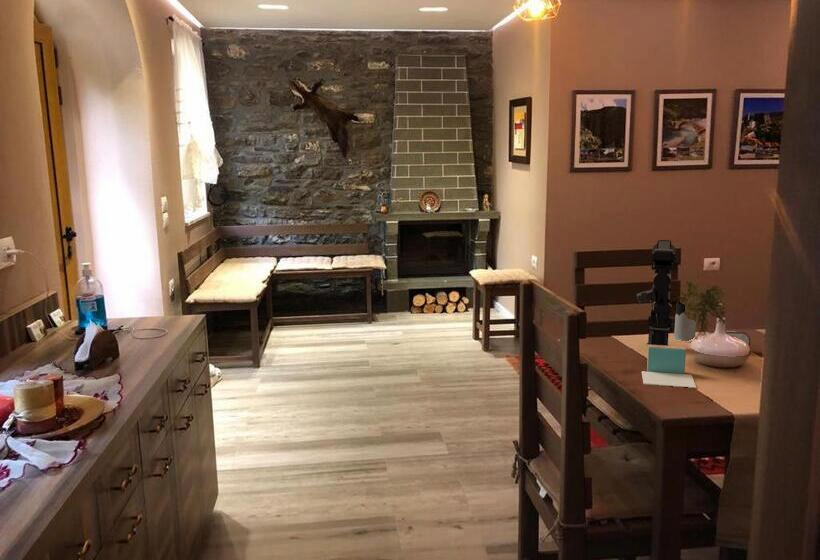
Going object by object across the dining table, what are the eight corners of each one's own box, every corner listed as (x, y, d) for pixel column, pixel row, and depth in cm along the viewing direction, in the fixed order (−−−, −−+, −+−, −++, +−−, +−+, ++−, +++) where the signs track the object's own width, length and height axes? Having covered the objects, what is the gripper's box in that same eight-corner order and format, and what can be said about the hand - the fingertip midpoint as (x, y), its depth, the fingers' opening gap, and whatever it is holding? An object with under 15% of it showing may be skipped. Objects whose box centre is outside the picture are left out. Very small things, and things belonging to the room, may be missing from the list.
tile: (646, 369, 233) (648, 344, 232) (683, 371, 230) (685, 346, 228) (647, 372, 230) (648, 347, 228) (684, 375, 227) (686, 349, 225)
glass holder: (677, 341, 267) (679, 305, 264) (665, 332, 281) (667, 298, 278) (699, 342, 266) (702, 305, 264) (686, 332, 280) (688, 298, 278)
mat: (641, 372, 230) (641, 371, 230) (691, 375, 225) (691, 374, 225) (643, 384, 217) (643, 383, 217) (696, 388, 213) (696, 387, 213)
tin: (747, 350, 254) (749, 329, 252) (750, 353, 251) (752, 331, 249) (706, 350, 255) (708, 328, 254) (709, 352, 252) (710, 330, 251)
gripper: (637, 278, 253) (635, 318, 255) (639, 288, 235) (637, 330, 238) (668, 280, 250) (666, 320, 252) (673, 289, 232) (670, 332, 235)
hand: (659, 325), depth 244 cm, fingers closed
